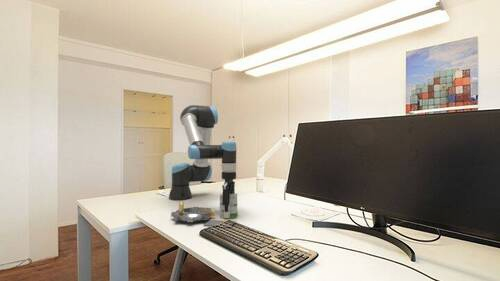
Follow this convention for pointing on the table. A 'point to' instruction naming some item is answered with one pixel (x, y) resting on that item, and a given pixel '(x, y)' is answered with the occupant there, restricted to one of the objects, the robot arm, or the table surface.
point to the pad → (214, 222)
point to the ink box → (232, 206)
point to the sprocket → (191, 213)
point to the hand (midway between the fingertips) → (228, 216)
